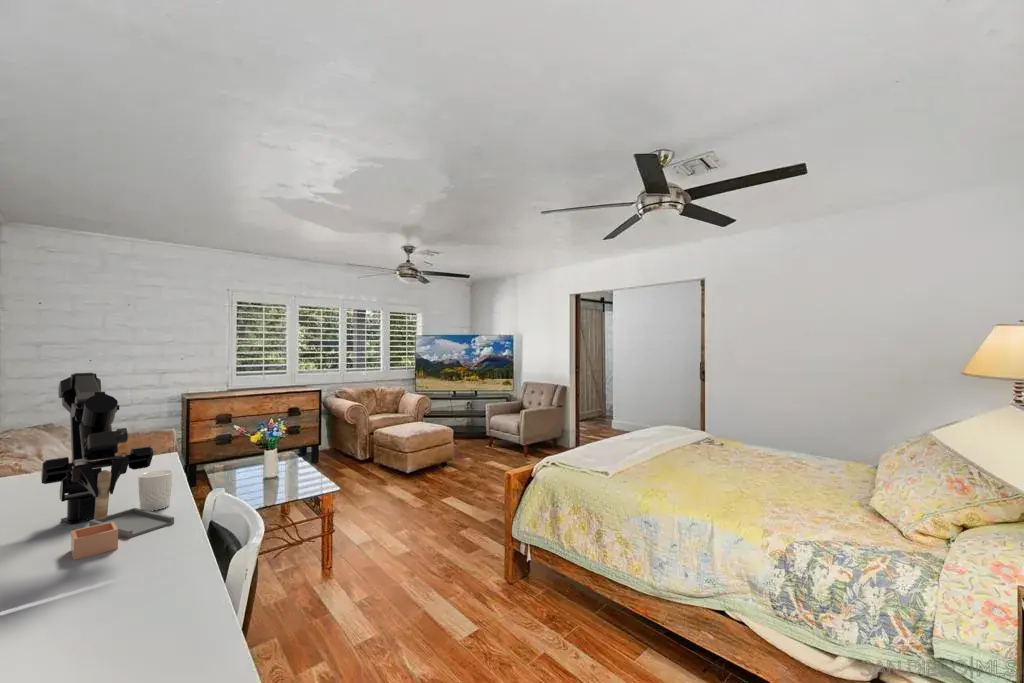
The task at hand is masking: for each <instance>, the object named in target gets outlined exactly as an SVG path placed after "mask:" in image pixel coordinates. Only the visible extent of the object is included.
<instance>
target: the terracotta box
mask: <svg viewBox="0 0 1024 683" xmlns="http://www.w3.org/2000/svg"><path fill="white" fill-rule="evenodd" d="M70 532H71V533H70V535H71V536H70V552H71V556H72V559H73V561H75V560H76V561H77V560H80V559H84V558H88V557H91V556H95V555H99V554H103V553H107V552H111V551H115V550H118V549H119V536H118V528H117V526H116V525H115V523H114V521H113V522H109V523H104V524H100V525H95V526H91V527H89V526H87V527H82V528H77V529H73V530H70Z"/></svg>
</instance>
